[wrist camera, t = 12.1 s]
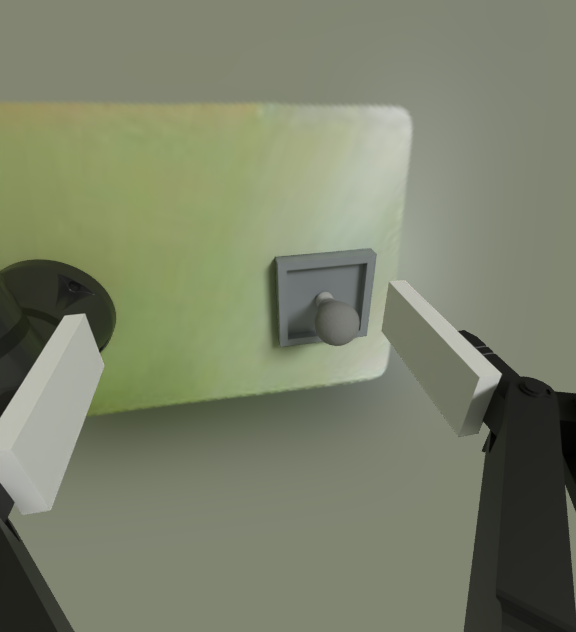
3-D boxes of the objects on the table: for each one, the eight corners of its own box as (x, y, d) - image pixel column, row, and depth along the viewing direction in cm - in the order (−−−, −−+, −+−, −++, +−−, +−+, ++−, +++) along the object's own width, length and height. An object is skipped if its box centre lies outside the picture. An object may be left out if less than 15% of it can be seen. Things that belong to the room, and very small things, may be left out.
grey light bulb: (330, 319, 56) (351, 359, 48) (297, 309, 54) (312, 349, 46) (349, 287, 54) (374, 323, 46) (314, 274, 52) (334, 310, 43)
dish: (278, 338, 58) (280, 346, 56) (275, 256, 50) (277, 263, 48) (361, 328, 60) (366, 336, 58) (370, 248, 52) (376, 254, 50)
